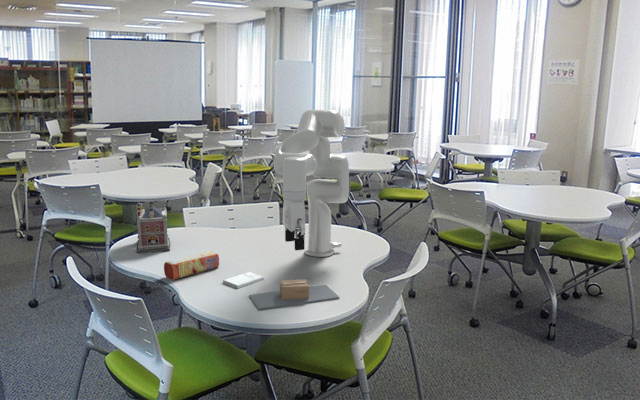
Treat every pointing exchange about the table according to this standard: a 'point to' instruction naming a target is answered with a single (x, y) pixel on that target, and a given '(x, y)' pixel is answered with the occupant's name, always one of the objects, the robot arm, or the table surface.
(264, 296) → the mat
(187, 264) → the snack package
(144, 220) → the model building
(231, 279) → the external hard drive
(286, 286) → the card box
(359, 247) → the table surface
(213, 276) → the table surface
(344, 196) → the robot arm
